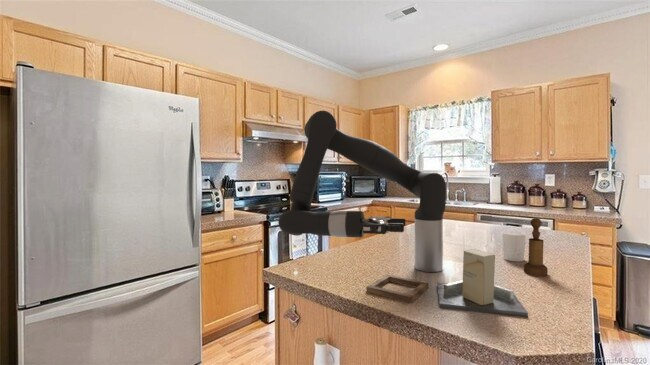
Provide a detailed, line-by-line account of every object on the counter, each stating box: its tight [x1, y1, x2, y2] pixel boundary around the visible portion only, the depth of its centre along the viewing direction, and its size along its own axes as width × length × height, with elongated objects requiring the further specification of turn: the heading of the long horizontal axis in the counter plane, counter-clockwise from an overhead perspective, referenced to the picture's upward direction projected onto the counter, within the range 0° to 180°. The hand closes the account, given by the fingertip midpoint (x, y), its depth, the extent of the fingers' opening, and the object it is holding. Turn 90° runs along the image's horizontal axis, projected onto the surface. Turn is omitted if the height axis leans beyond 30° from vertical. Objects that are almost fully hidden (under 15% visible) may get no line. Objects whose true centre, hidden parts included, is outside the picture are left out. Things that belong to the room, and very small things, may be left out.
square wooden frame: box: [365, 274, 430, 304], centre depth 90 cm, size 13×13×2 cm
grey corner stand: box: [436, 279, 529, 318], centre depth 83 cm, size 16×19×4 cm
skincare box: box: [462, 248, 496, 305], centre depth 80 cm, size 6×4×12 cm
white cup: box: [501, 230, 527, 263], centre depth 121 cm, size 8×8×10 cm
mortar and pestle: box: [523, 217, 548, 277], centre depth 104 cm, size 7×6×18 cm
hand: (404, 224), depth 87 cm, fingers open, 8 cm apart
